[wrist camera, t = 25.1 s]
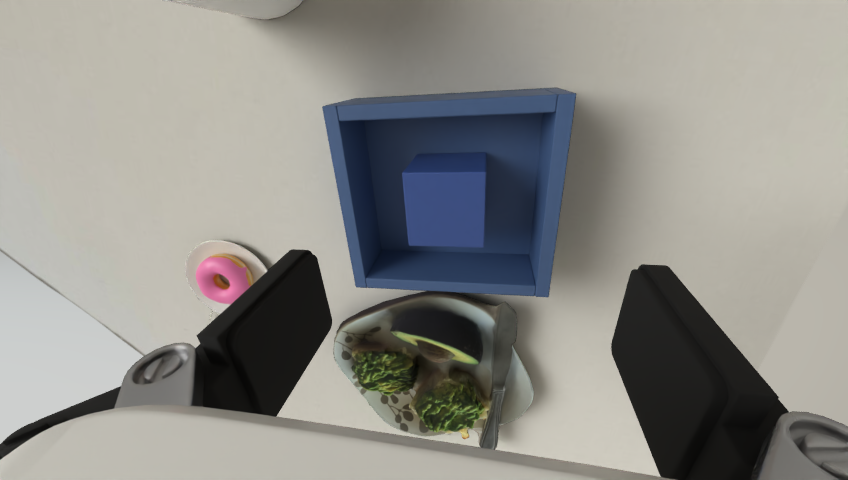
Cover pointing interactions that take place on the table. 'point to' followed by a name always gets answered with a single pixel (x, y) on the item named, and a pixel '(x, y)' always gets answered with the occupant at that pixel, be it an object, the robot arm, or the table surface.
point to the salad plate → (437, 364)
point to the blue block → (446, 199)
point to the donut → (221, 273)
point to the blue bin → (505, 186)
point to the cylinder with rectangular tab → (246, 7)
